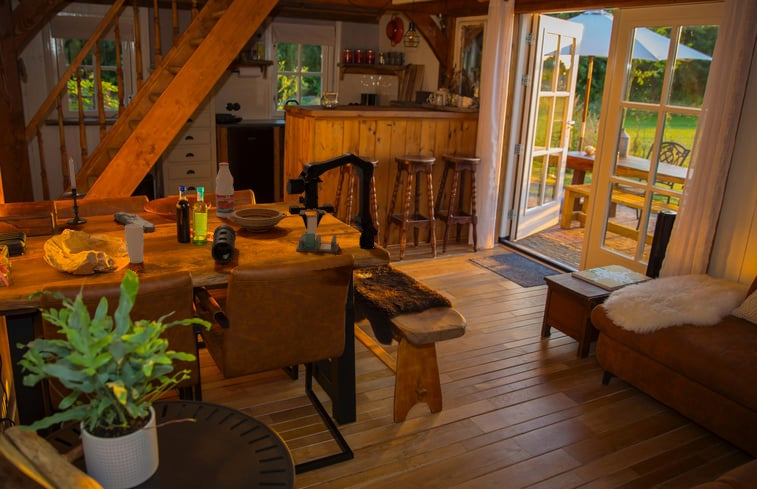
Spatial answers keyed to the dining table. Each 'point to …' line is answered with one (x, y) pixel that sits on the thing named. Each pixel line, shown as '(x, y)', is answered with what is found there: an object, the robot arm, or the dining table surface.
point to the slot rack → (318, 245)
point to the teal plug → (309, 239)
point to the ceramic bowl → (257, 218)
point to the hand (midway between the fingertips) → (311, 228)
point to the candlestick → (74, 196)
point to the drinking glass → (134, 242)
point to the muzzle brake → (223, 244)
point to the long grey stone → (134, 221)
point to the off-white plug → (311, 224)
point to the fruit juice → (224, 192)
